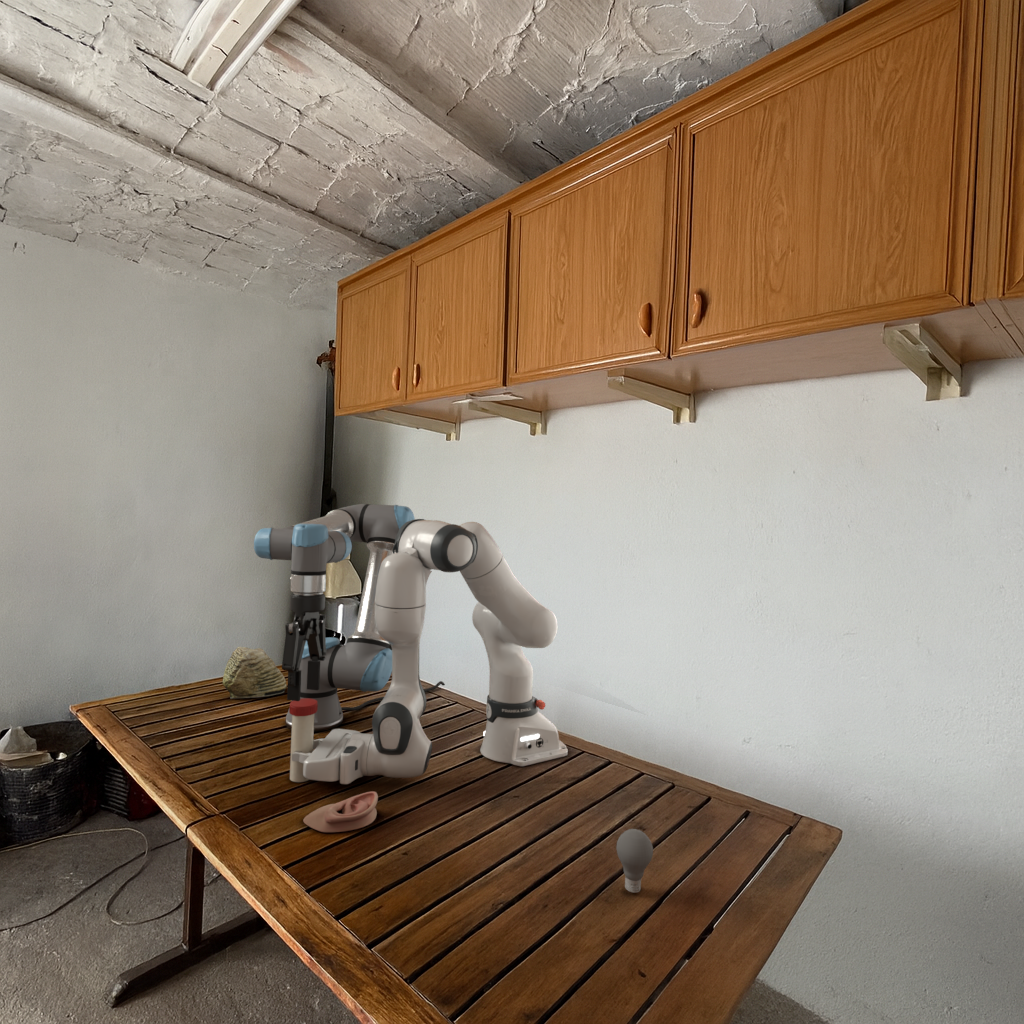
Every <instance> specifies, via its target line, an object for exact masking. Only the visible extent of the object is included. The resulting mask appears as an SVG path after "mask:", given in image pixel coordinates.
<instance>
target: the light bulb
mask: <svg viewBox="0 0 1024 1024" xmlns="http://www.w3.org/2000/svg"><path fill="white" fill-rule="evenodd" d="M615 849H616V854H617V857H618V859H619V861H620V863H621V865H622V867H623V873H624V874H623V875H624V876H625V878H624V888H625V890H627V891H628V892H630V893H634V894H635V893H639V892H640V891H641V889H642V887H641V886H642V879H643V877H644V875H645V871H646V868H647V867H648V866H649V864H650V863H651V861H652V859H653V855H654V847H653V843H652V841H651V838H649V836H648V835H647V834H646V833H645V832H643V831H642V830H641V829H636V828H629V829H627V830H625V831H623V832H622V833H621V834H620V835H619V837H618V839H617V841H616V847H615Z"/></svg>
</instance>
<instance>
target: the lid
mask: <svg viewBox="0 0 1024 1024" xmlns="http://www.w3.org/2000/svg"><path fill="white" fill-rule="evenodd" d="M289 707H290V708H288V710H289V713H290V714H291V715H294V716H308V715H312V714H315V713H316V712H317V709H318V704H317V700H315V699H309V698H303V699H300V701H292V700H290V702H289Z"/></svg>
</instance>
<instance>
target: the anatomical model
mask: <svg viewBox="0 0 1024 1024" xmlns="http://www.w3.org/2000/svg"><path fill="white" fill-rule="evenodd" d="M378 801H379V795H378V793H377V791H366V792H363V793H360V794H359V793H358V794H356V795H353V796H351V797H349V798H346V799H344V800H341V801H339V802H336V803H330V804H326V805H323V806H321V807H318V808H317V809H315V810H313V811H311V812H310V813H309V814H307V815H306V816H305V817H304V818H303V820H302V822H303V823H304V824H305V825H306V826H308V827H309V828H311V829H312V830H315V831H318V832H321V833H340V832H348V831H353V830H354V831H355V830H358V829H361V828H364V827H366V826H369V825H371V824H372V823H374V821H375V820H376V818H377V814H378V812H377V808H376V807H377V805H378Z"/></svg>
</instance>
